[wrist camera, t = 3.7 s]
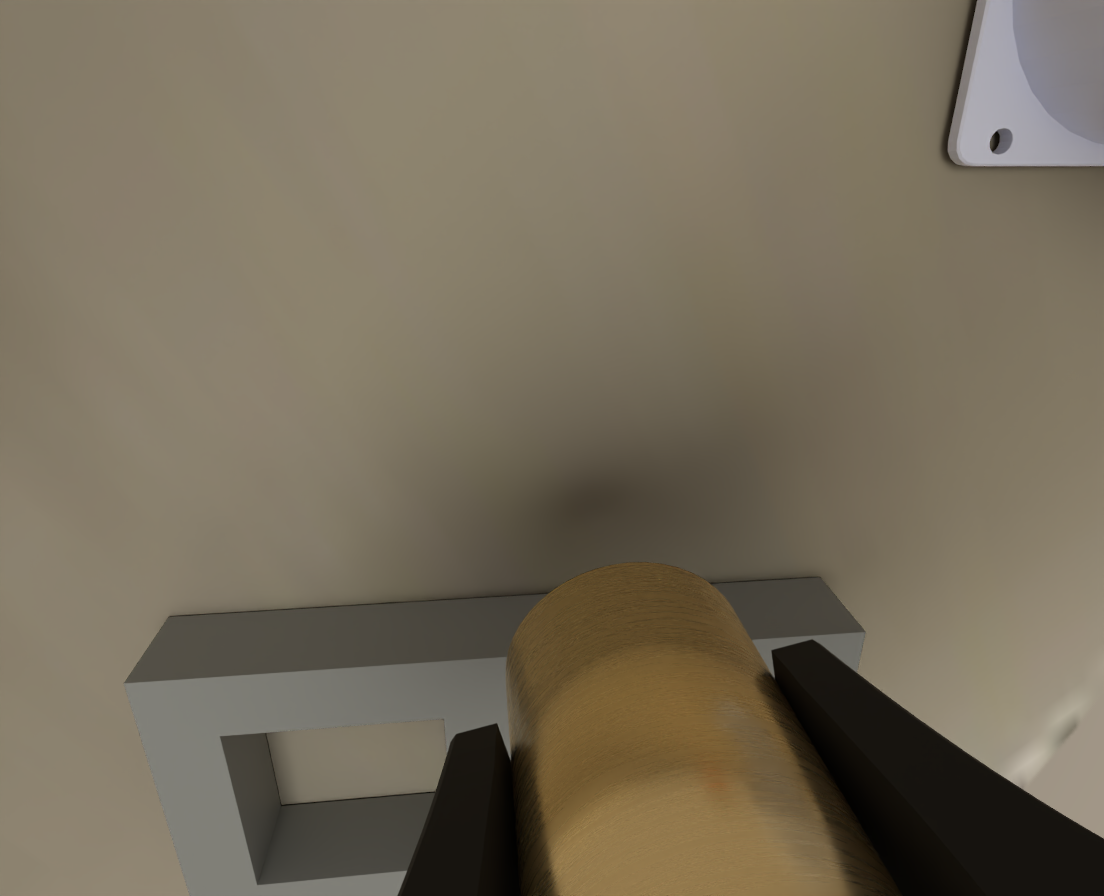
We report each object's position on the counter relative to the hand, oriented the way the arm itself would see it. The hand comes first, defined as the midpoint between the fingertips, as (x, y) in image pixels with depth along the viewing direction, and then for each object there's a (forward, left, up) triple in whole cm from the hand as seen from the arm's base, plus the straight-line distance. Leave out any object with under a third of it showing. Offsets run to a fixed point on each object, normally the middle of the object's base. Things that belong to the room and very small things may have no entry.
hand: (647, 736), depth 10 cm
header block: (+2, +8, -9) cm, 12 cm away
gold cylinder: (0, 0, -2) cm, 2 cm away
